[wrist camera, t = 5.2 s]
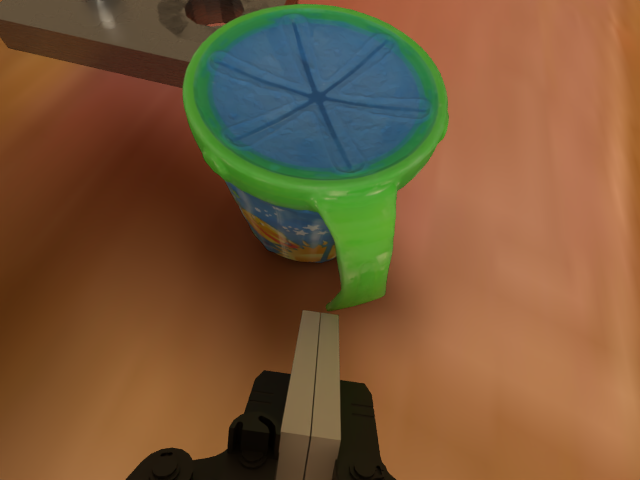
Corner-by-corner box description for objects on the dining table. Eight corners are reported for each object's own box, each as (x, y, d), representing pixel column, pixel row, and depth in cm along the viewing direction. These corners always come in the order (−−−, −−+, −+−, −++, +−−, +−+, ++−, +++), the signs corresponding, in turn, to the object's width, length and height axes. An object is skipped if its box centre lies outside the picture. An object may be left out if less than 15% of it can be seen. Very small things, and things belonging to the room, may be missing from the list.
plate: (8, 47, 28) (-16, 15, 26) (94, -35, 34) (81, -67, 32) (251, 103, 27) (248, 75, 25) (297, 8, 33) (297, -22, 31)
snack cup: (420, 321, 20) (522, 237, 11) (231, 350, 19) (176, 280, 10) (361, 120, 27) (395, -31, 18) (220, 130, 26) (181, -28, 17)
